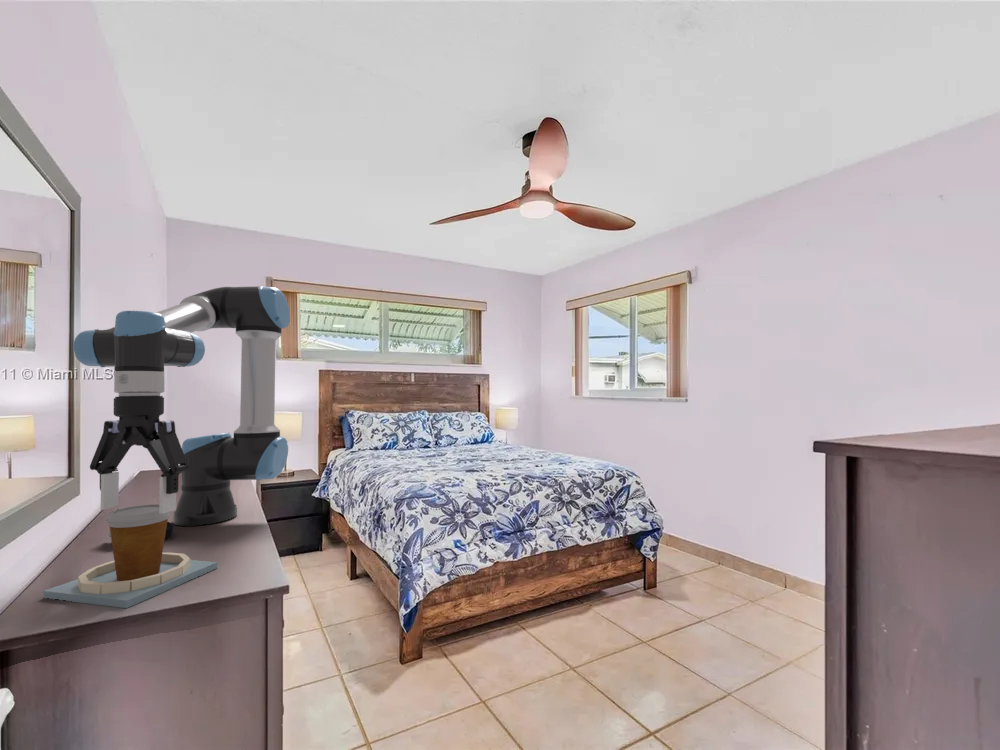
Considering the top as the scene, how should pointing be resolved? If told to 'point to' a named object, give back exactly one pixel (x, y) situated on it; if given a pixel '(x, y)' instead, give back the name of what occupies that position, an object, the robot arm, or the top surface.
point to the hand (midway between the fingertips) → (138, 510)
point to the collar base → (131, 595)
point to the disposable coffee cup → (137, 540)
